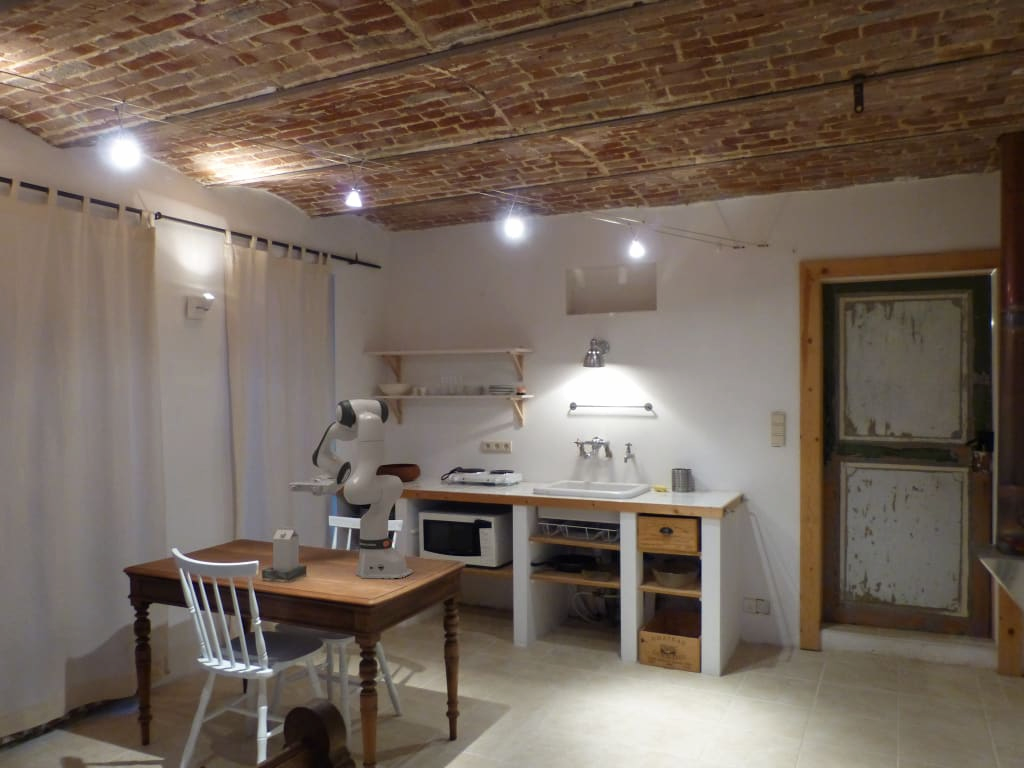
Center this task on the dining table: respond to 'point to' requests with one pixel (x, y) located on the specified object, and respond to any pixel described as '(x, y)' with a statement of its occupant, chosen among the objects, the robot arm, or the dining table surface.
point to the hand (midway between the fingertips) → (302, 489)
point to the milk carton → (285, 549)
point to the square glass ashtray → (283, 574)
